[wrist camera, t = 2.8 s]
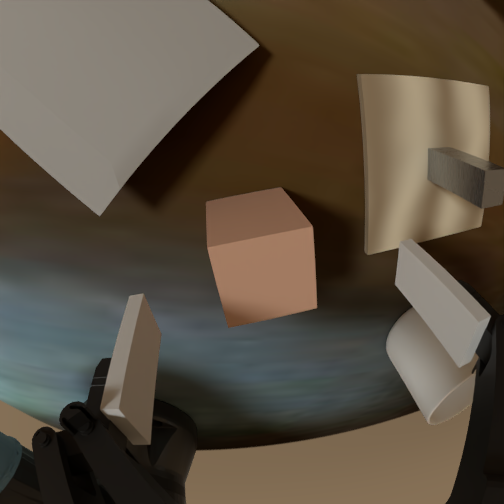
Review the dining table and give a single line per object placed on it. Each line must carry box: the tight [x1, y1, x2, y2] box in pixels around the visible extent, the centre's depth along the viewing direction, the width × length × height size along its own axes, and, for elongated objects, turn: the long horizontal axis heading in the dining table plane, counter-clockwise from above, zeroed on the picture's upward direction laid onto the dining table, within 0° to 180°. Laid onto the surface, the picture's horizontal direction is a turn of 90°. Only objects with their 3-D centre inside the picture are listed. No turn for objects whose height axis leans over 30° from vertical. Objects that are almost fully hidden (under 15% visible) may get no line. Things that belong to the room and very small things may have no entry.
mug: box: [386, 307, 479, 425], centre depth 26 cm, size 9×12×11 cm
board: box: [357, 74, 490, 255], centre depth 21 cm, size 14×14×1 cm
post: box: [427, 147, 504, 209], centre depth 18 cm, size 3×3×7 cm
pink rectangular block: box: [206, 187, 317, 328], centre depth 19 cm, size 5×5×7 cm
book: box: [0, 0, 260, 216], centre depth 13 cm, size 15×23×4 cm, turn 44°
